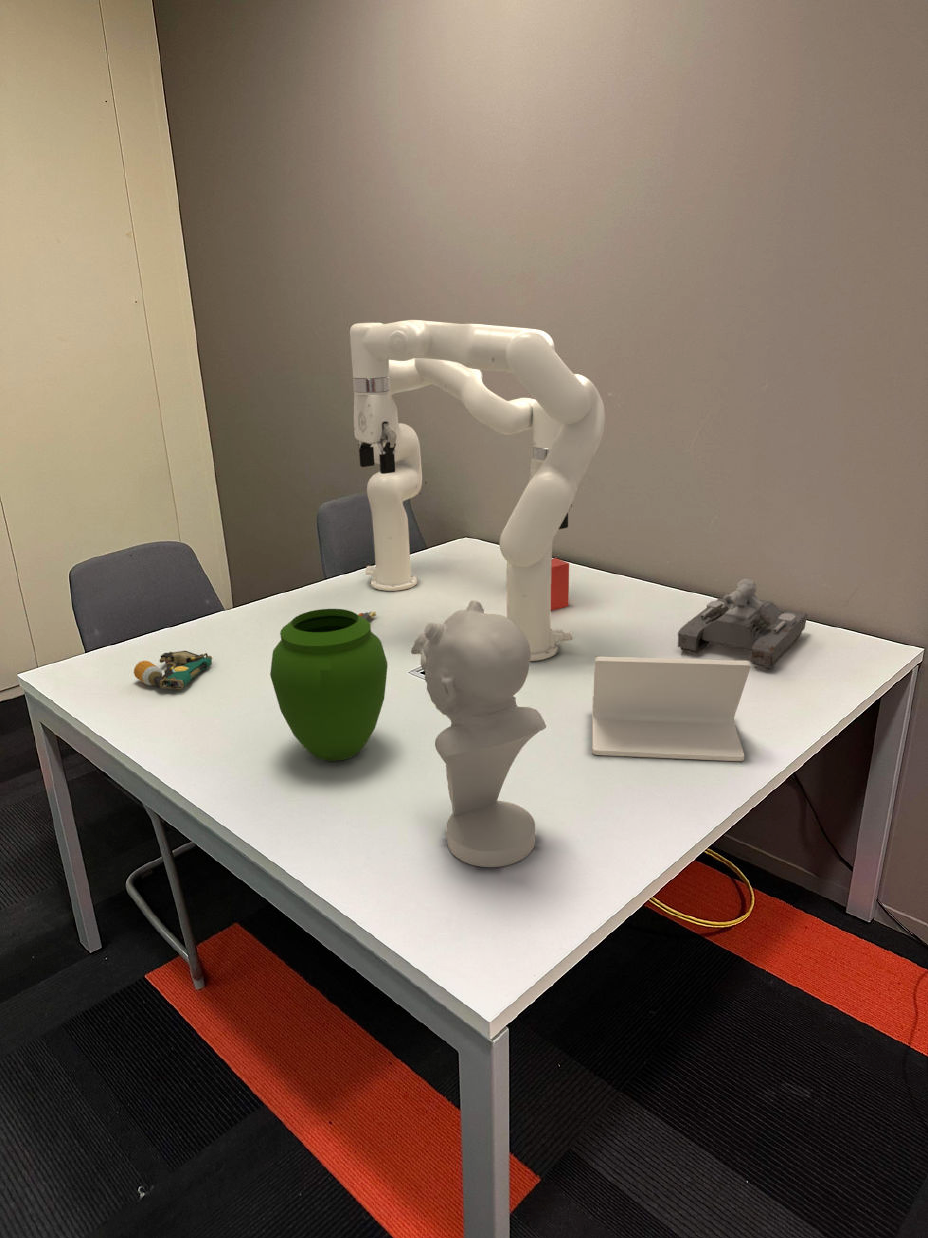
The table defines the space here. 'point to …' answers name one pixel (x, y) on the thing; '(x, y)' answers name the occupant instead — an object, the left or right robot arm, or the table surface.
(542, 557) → the right robot arm
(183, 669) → the spray gun
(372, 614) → the toy gun
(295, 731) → the vase
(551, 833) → the table surface
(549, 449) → the left robot arm
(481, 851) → the bust sculpture
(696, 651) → the toy
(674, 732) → the tablet stand
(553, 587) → the block
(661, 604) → the table surface
